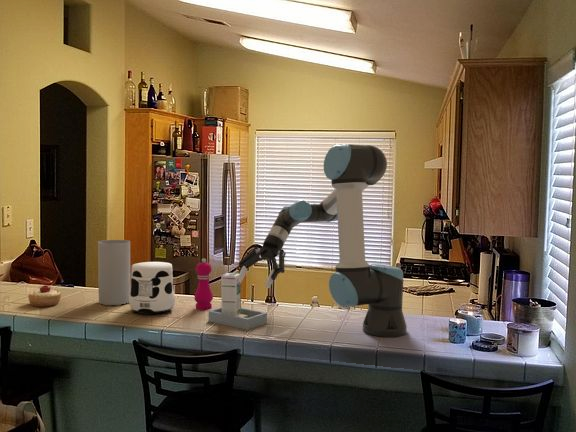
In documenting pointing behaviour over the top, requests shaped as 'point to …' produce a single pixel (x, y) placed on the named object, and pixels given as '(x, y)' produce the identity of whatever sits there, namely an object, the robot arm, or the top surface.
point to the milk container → (151, 287)
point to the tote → (239, 318)
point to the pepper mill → (203, 286)
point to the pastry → (44, 297)
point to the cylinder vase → (114, 272)
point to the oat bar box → (242, 315)
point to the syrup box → (231, 293)
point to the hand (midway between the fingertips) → (252, 283)
